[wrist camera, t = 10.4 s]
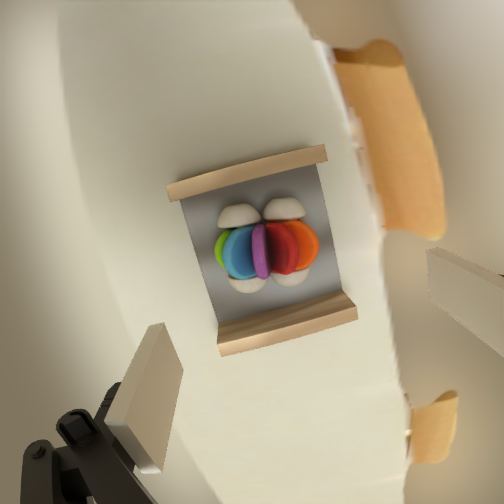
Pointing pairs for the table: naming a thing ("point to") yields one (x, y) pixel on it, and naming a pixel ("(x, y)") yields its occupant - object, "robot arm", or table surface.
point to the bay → (272, 294)
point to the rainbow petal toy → (265, 245)
